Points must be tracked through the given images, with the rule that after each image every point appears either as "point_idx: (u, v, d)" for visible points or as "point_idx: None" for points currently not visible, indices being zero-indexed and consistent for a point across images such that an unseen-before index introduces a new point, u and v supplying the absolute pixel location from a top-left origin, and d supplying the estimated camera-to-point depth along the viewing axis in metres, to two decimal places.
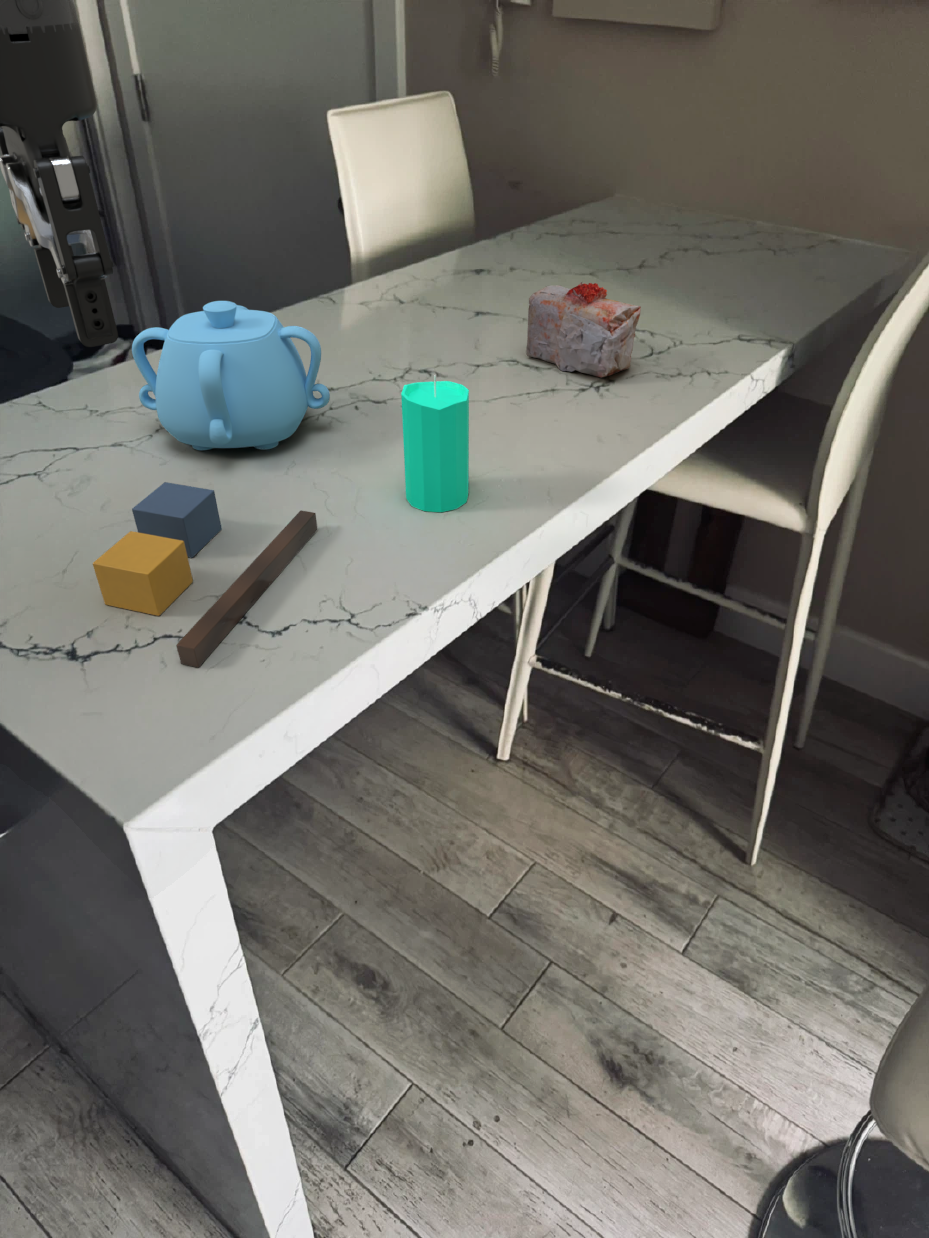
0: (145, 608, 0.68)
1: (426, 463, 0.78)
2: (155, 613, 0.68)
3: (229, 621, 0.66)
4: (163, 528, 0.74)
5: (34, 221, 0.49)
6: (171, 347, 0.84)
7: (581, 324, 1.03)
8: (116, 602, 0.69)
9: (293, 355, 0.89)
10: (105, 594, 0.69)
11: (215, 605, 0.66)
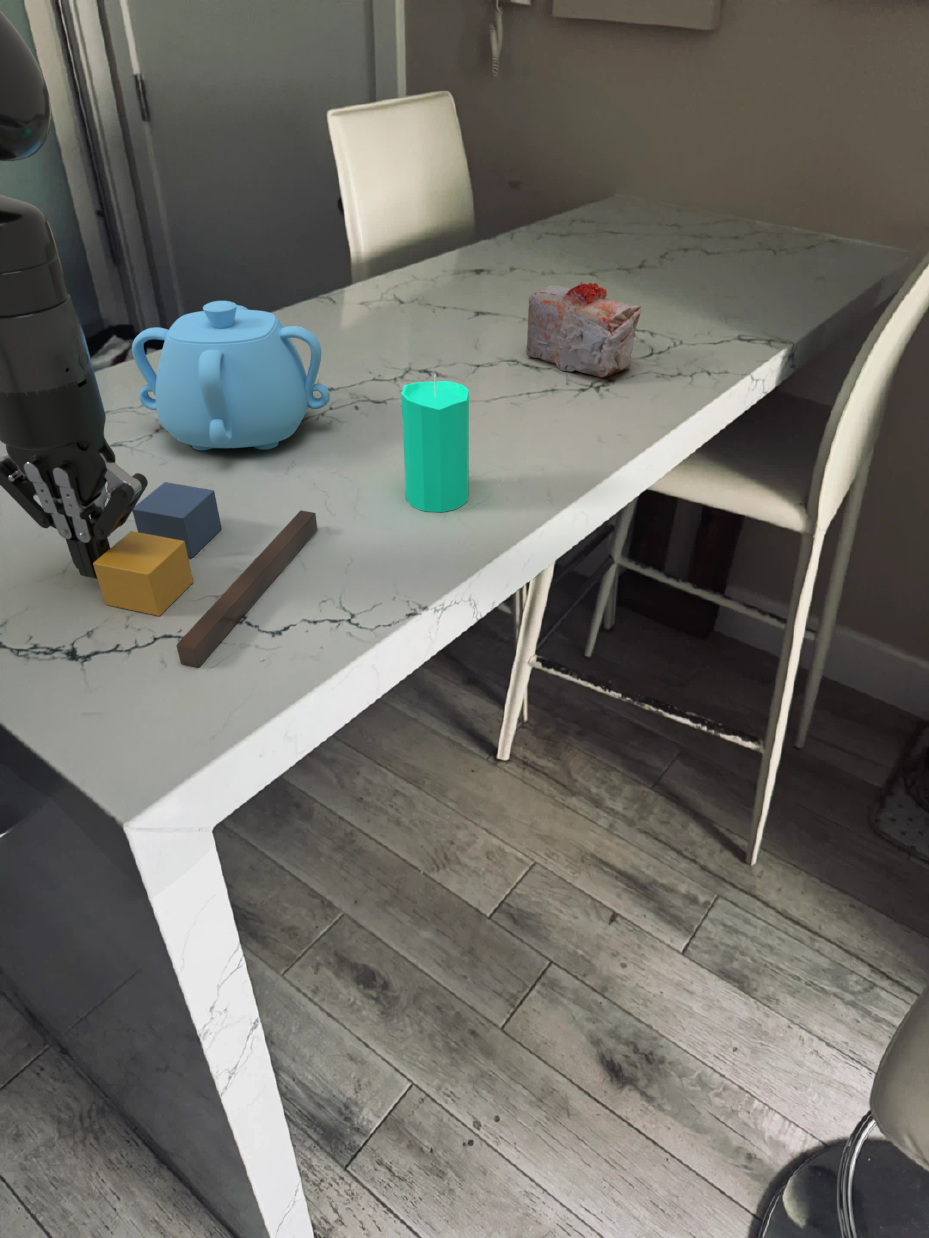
0: (145, 608, 0.68)
1: (426, 463, 0.78)
2: (155, 613, 0.68)
3: (229, 621, 0.66)
4: (163, 528, 0.74)
5: (78, 509, 0.65)
6: (171, 347, 0.84)
7: (581, 324, 1.03)
8: (116, 602, 0.69)
9: (293, 355, 0.89)
10: (105, 594, 0.69)
11: (215, 605, 0.66)
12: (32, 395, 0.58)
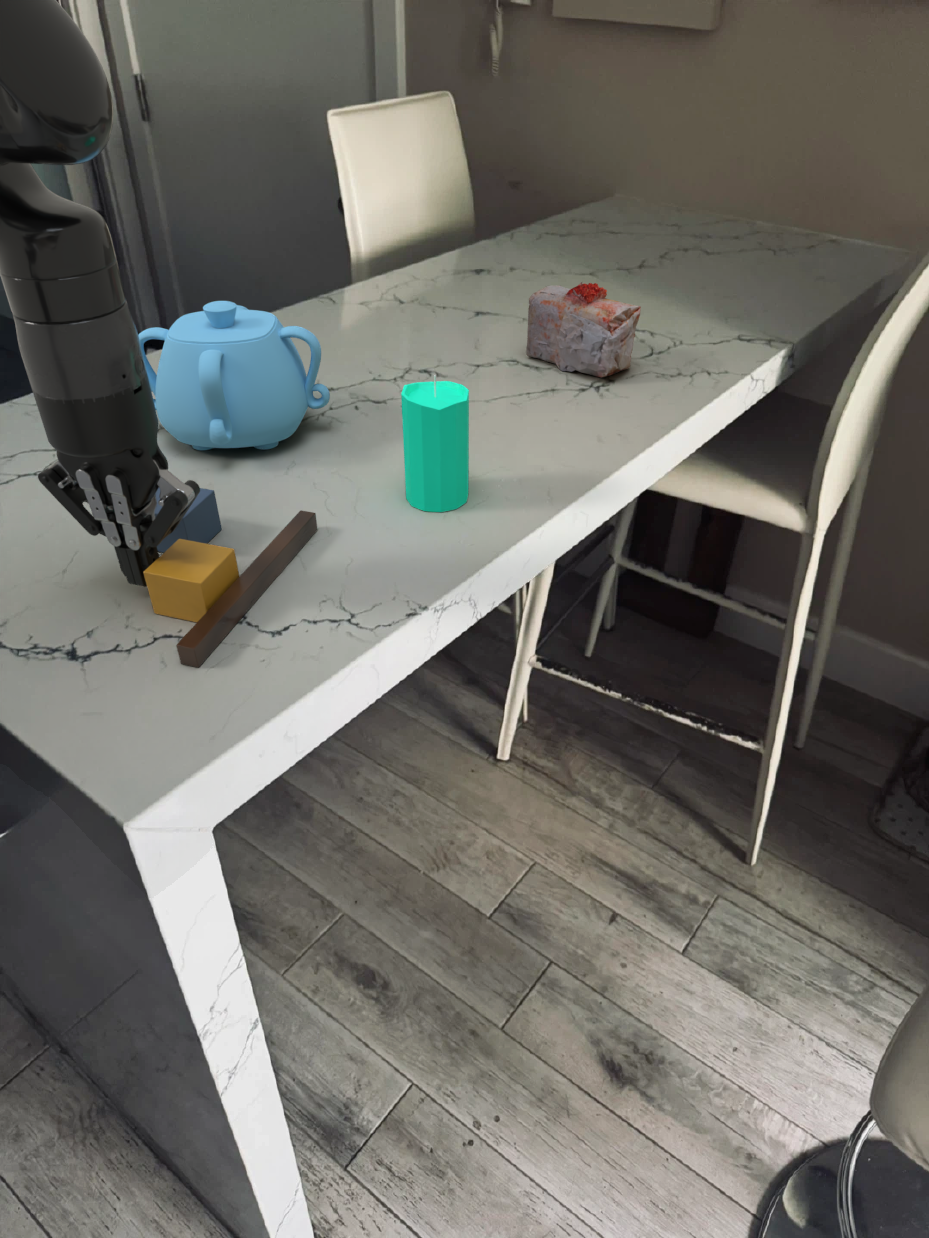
0: (196, 617, 0.67)
1: (426, 463, 0.78)
2: None
3: (229, 621, 0.66)
4: None
5: (129, 517, 0.64)
6: (171, 347, 0.84)
7: (581, 324, 1.03)
8: (166, 611, 0.68)
9: (293, 355, 0.89)
10: (155, 603, 0.68)
11: (215, 605, 0.66)
12: (89, 402, 0.57)
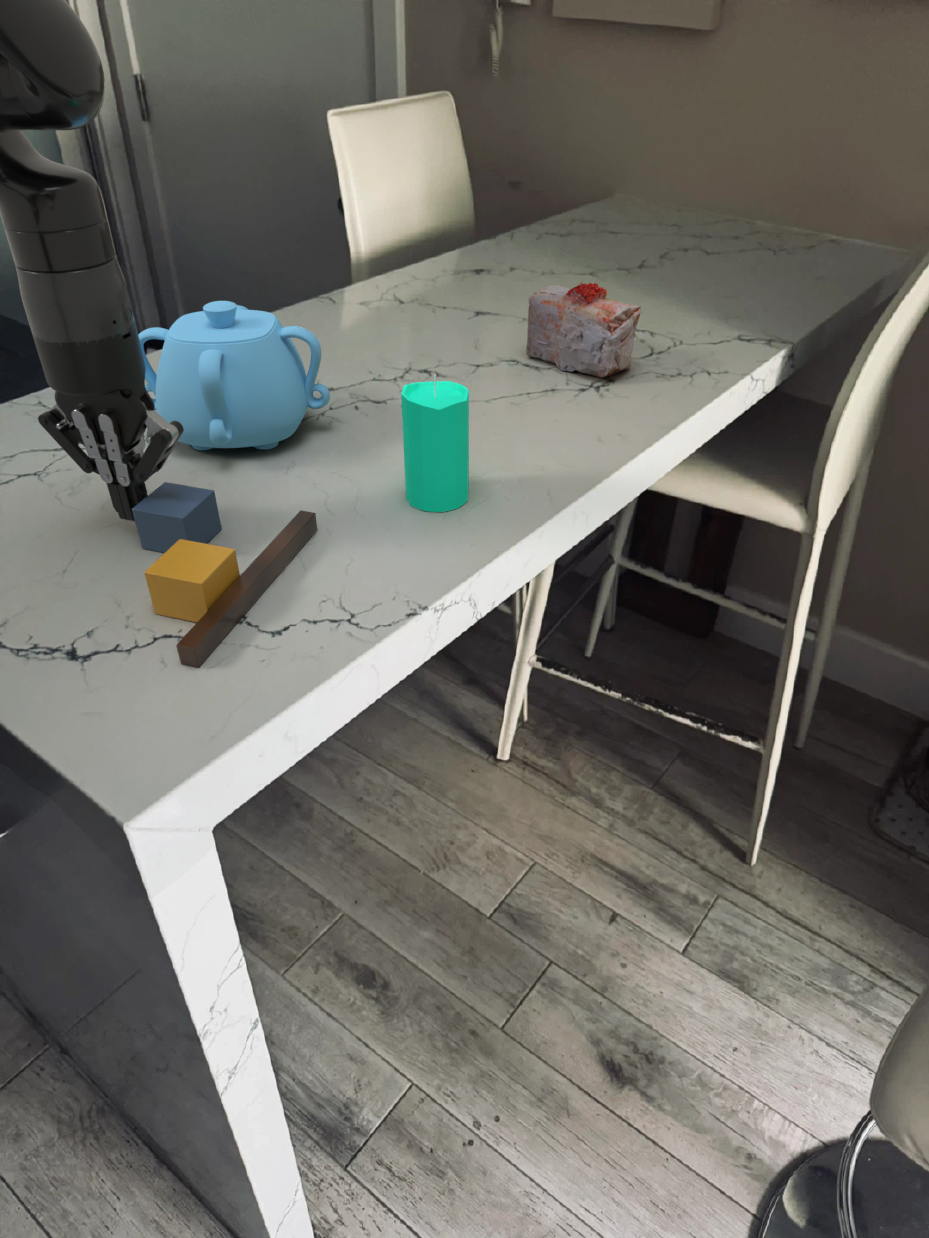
0: (197, 617, 0.67)
1: (426, 463, 0.78)
2: None
3: (229, 621, 0.66)
4: (163, 528, 0.74)
5: (120, 454, 0.71)
6: (171, 347, 0.84)
7: (581, 324, 1.03)
8: (167, 611, 0.68)
9: (293, 355, 0.89)
10: (156, 603, 0.68)
11: (215, 605, 0.66)
12: (83, 345, 0.64)
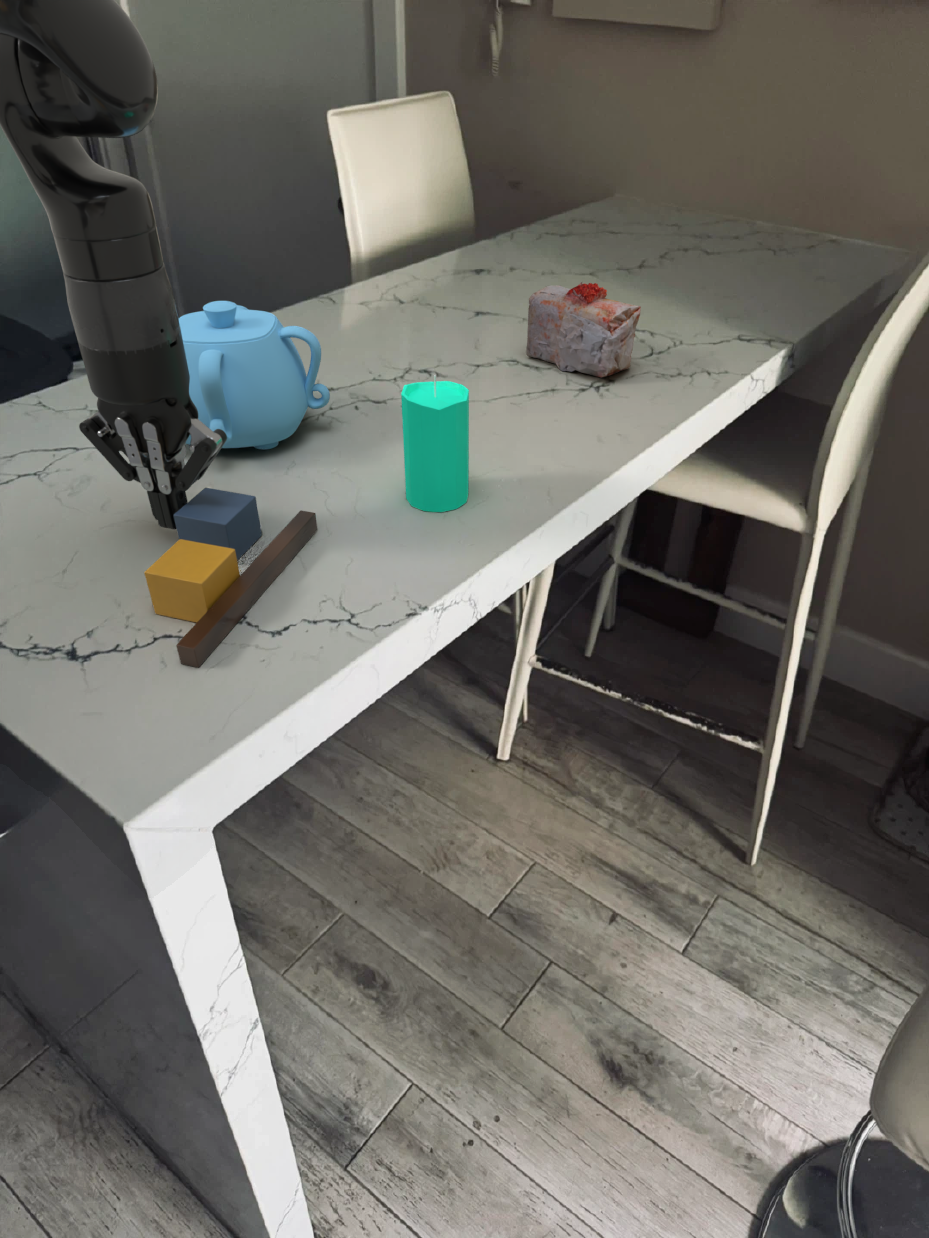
0: (197, 617, 0.67)
1: (426, 463, 0.78)
2: None
3: (229, 621, 0.66)
4: (204, 534, 0.73)
5: (162, 462, 0.71)
6: None
7: (581, 324, 1.03)
8: (167, 611, 0.68)
9: (293, 355, 0.89)
10: (156, 603, 0.68)
11: (215, 605, 0.66)
12: (131, 353, 0.64)
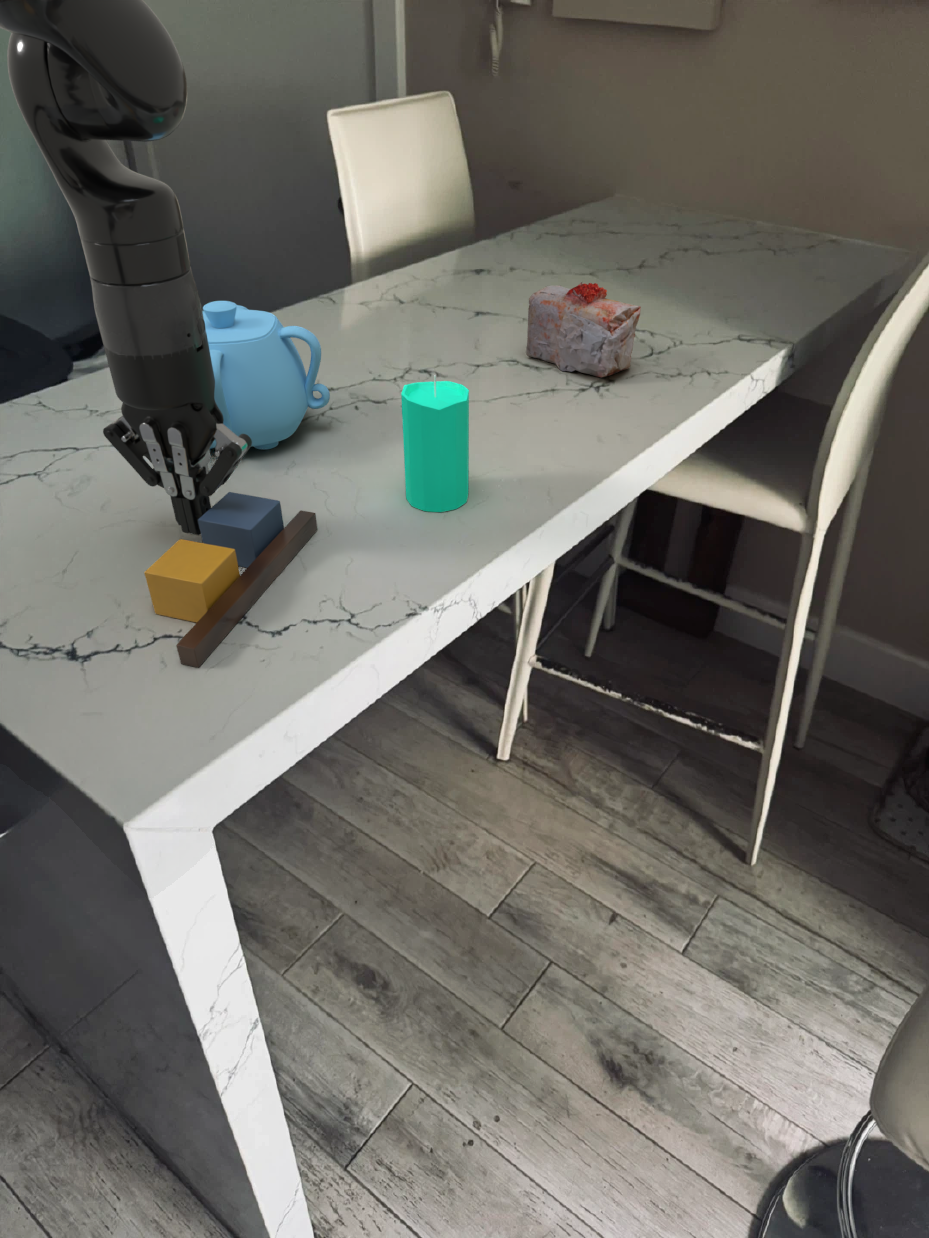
0: (197, 617, 0.67)
1: (426, 463, 0.78)
2: None
3: (229, 621, 0.66)
4: (229, 539, 0.72)
5: (187, 467, 0.70)
6: None
7: (581, 324, 1.03)
8: (167, 611, 0.68)
9: (293, 355, 0.89)
10: (156, 603, 0.68)
11: (215, 605, 0.66)
12: (157, 358, 0.63)
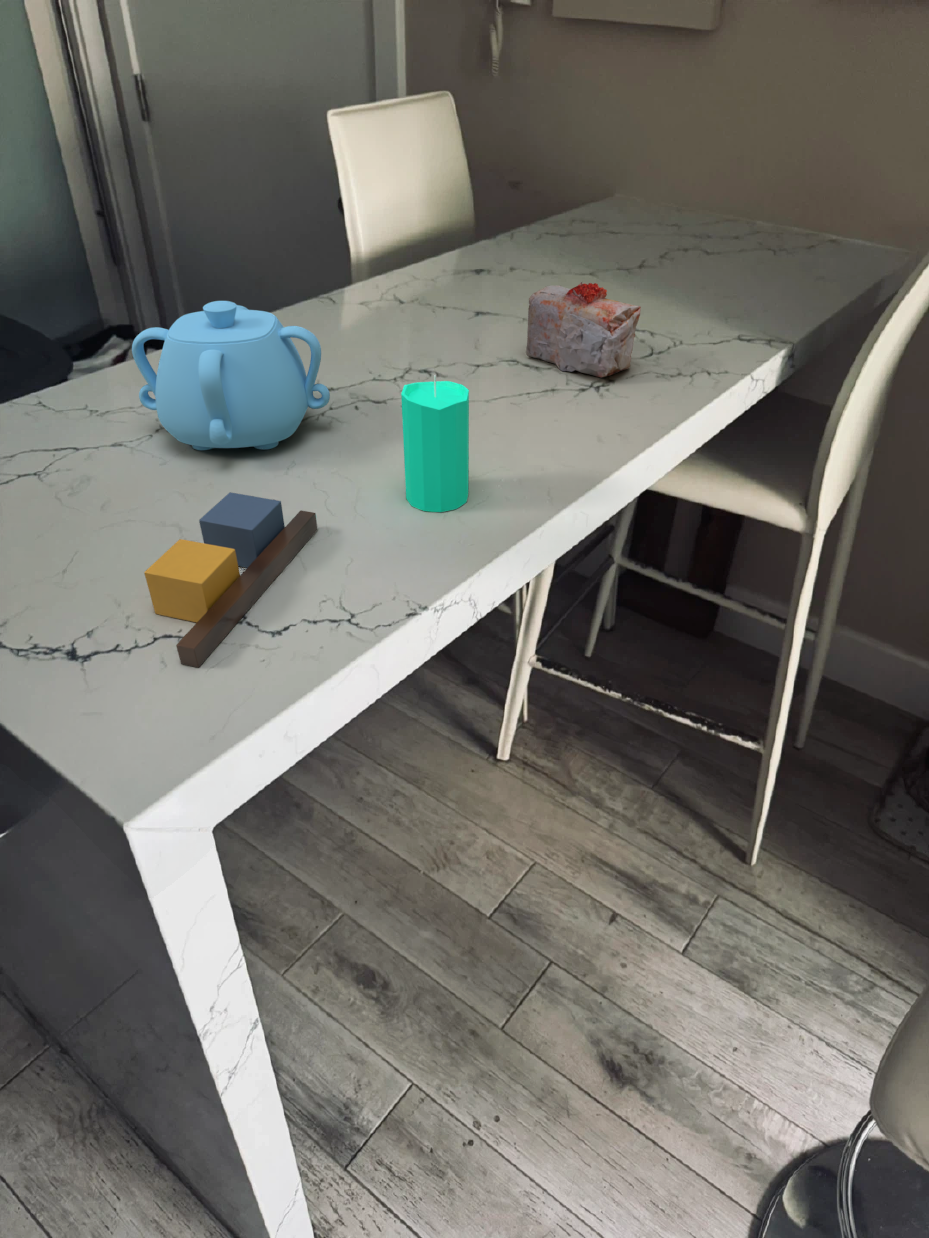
0: (197, 617, 0.67)
1: (426, 463, 0.78)
2: None
3: (229, 621, 0.66)
4: (230, 540, 0.72)
5: None
6: (171, 347, 0.84)
7: (581, 324, 1.03)
8: (167, 611, 0.68)
9: (293, 355, 0.89)
10: (156, 603, 0.68)
11: (215, 605, 0.66)
12: None
